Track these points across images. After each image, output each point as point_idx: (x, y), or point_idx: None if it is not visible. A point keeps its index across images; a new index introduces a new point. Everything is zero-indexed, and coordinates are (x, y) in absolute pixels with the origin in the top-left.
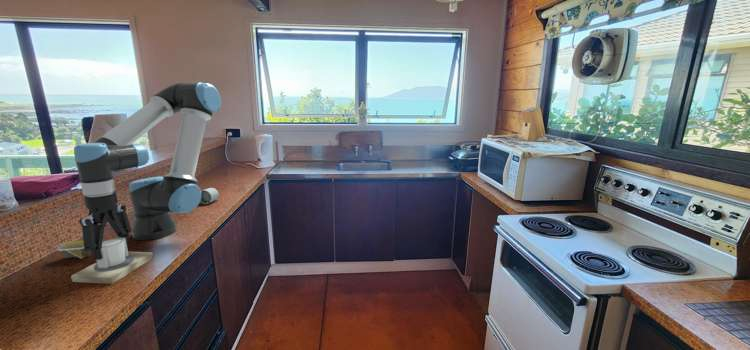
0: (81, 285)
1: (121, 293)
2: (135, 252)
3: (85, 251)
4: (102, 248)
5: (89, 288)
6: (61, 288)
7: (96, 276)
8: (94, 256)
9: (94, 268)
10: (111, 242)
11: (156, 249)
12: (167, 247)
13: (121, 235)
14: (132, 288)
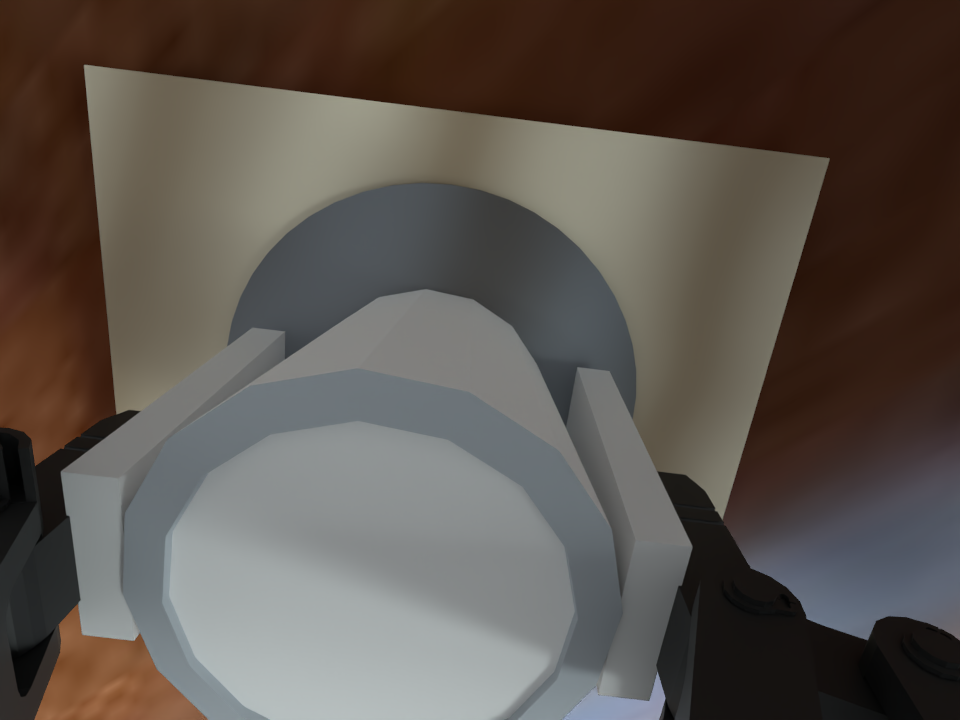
0: (95, 249)
1: (57, 668)
2: (721, 453)
3: None
4: (109, 616)
5: (65, 375)
6: (2, 64)
7: (126, 405)
8: (76, 449)
9: (270, 255)
10: (382, 614)
11: (891, 514)
12: (917, 599)
13: (681, 680)
14: (131, 701)
